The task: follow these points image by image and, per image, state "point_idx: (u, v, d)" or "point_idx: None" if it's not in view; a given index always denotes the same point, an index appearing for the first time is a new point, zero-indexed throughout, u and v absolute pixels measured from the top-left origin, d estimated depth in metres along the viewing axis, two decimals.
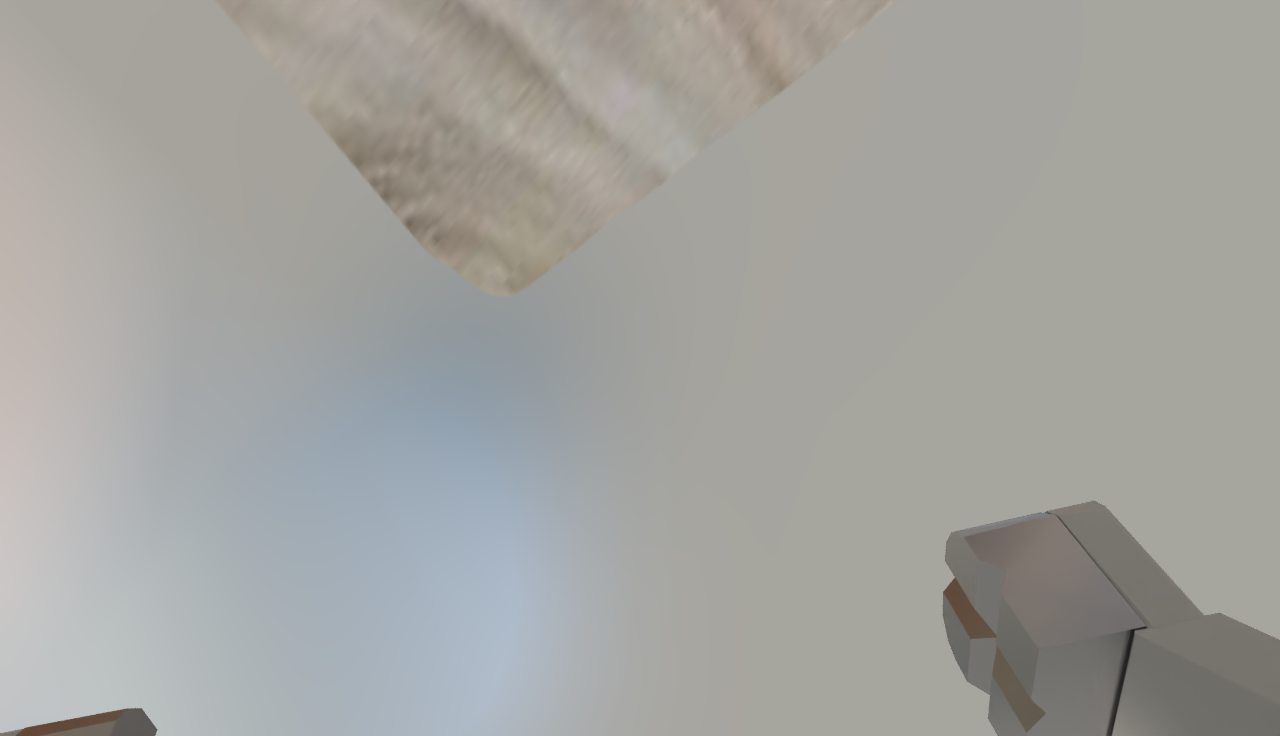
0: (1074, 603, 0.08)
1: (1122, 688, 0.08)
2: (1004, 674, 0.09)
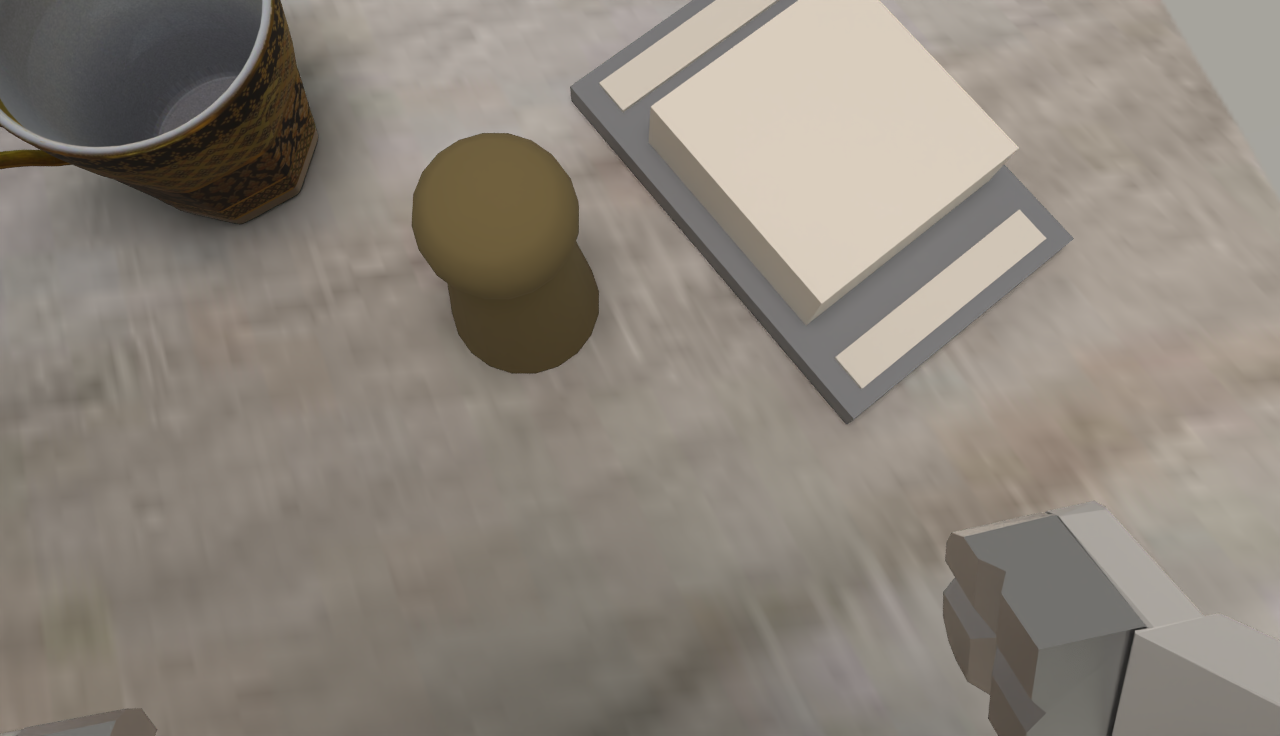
0: (1074, 603, 0.08)
1: (1122, 688, 0.08)
2: (1004, 674, 0.09)
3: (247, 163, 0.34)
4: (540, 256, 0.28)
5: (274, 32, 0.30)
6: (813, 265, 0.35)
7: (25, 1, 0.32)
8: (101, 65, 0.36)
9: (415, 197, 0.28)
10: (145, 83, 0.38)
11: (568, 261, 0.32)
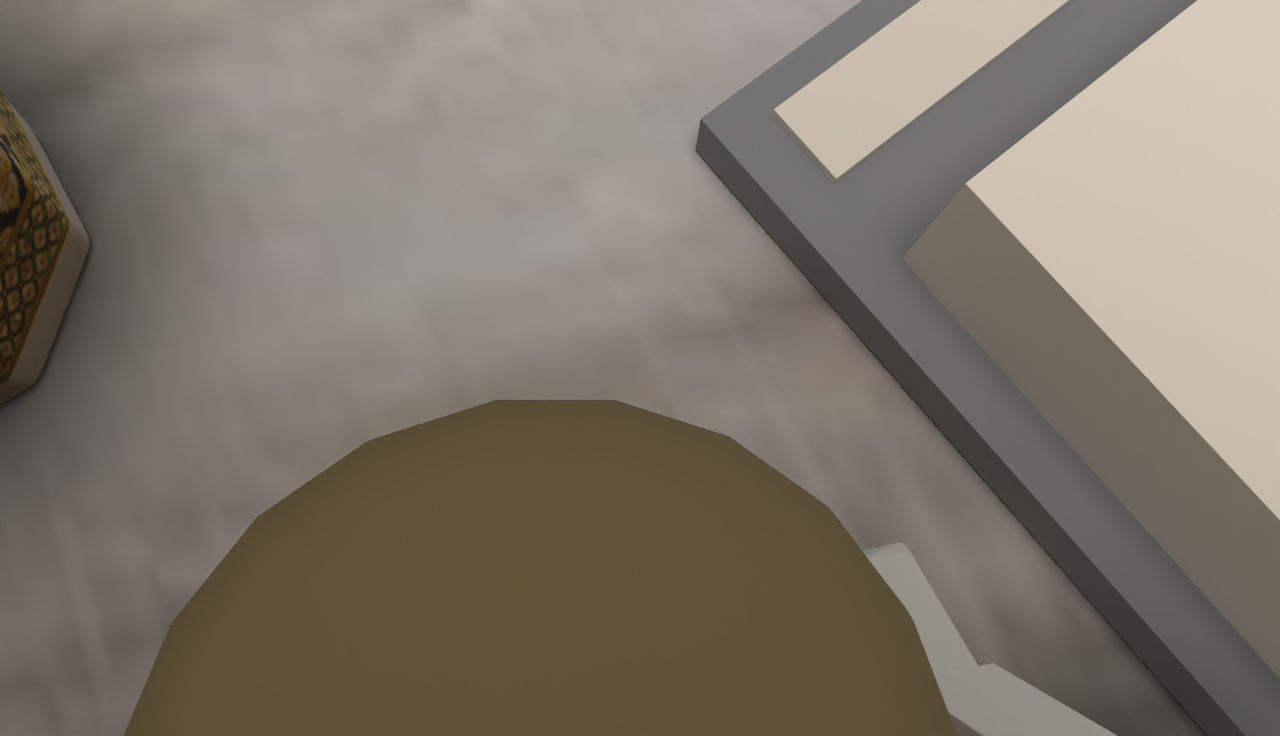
0: None
1: None
2: None
3: None
4: None
5: None
6: None
7: None
8: None
9: None
10: None
11: None
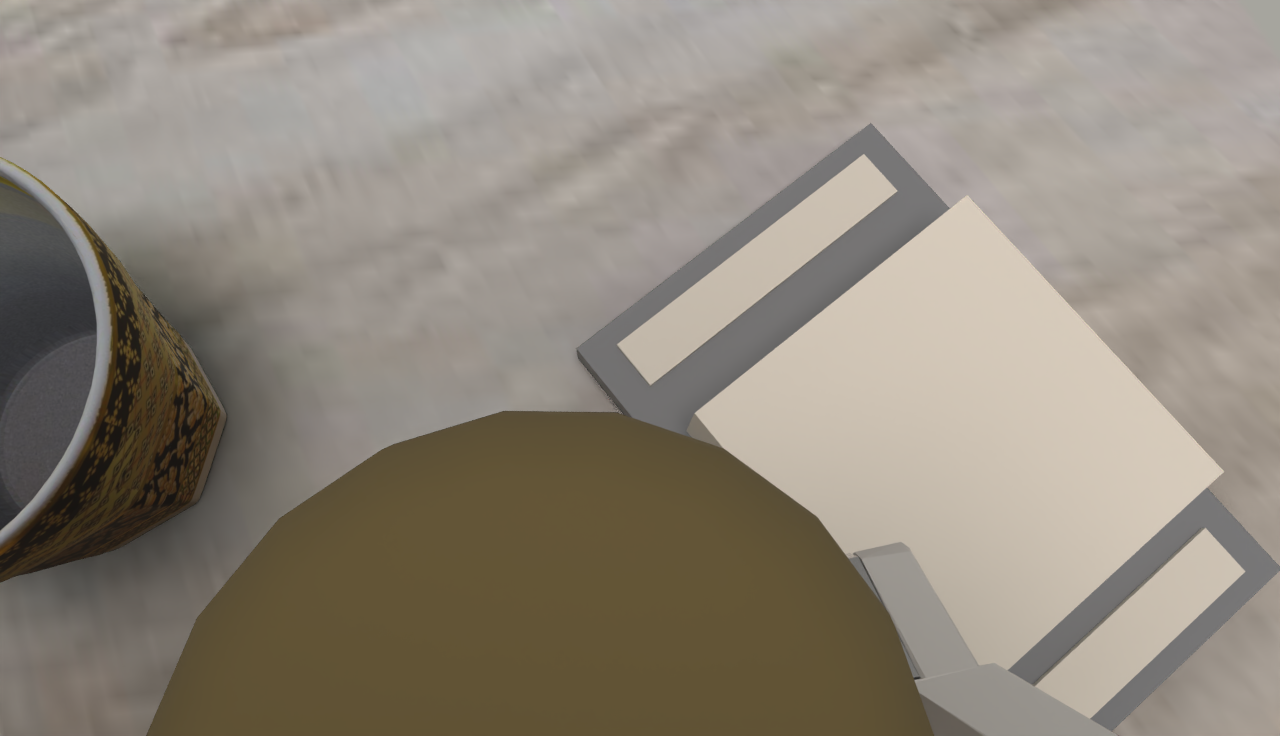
0: None
1: None
2: None
3: (99, 530, 0.23)
4: None
5: (118, 385, 0.19)
6: None
7: None
8: None
9: None
10: None
11: None
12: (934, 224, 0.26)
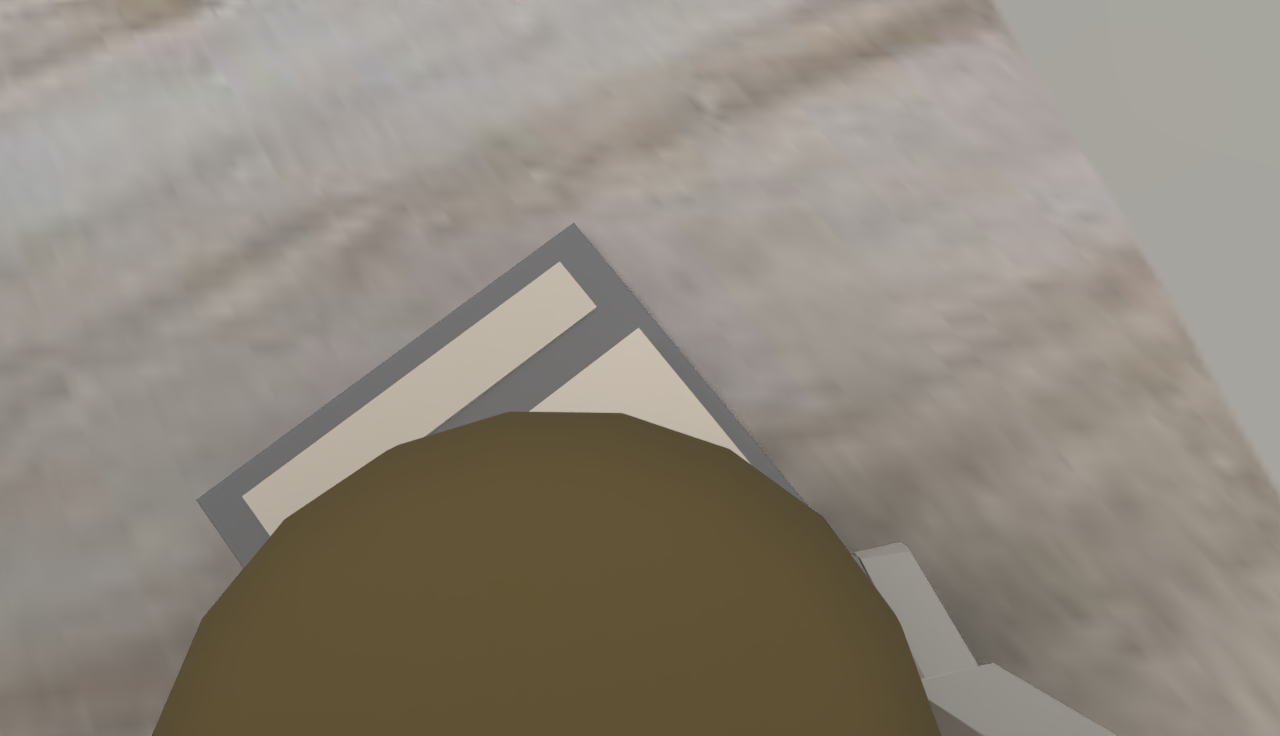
0: None
1: None
2: None
3: None
4: None
5: None
6: None
7: None
8: None
9: None
10: None
11: None
12: (594, 364, 0.21)
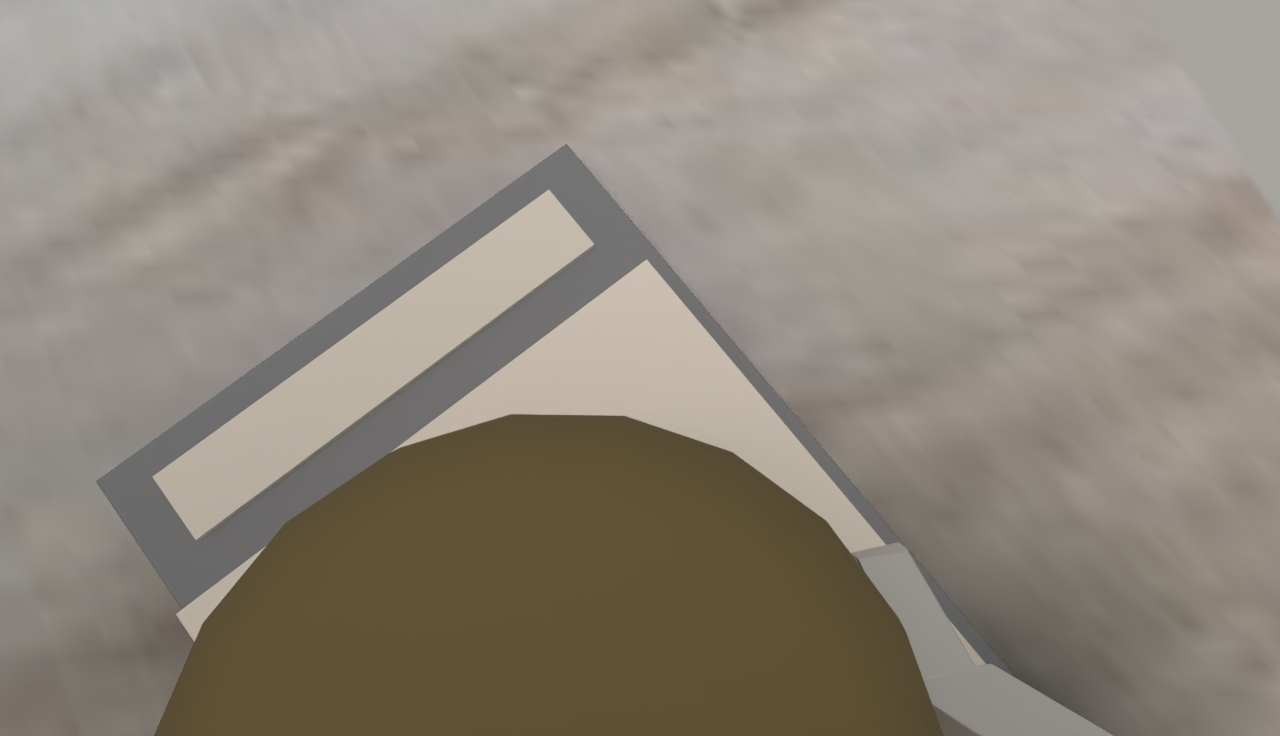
0: None
1: None
2: None
3: None
4: None
5: None
6: None
7: None
8: None
9: None
10: None
11: None
12: (590, 306, 0.17)
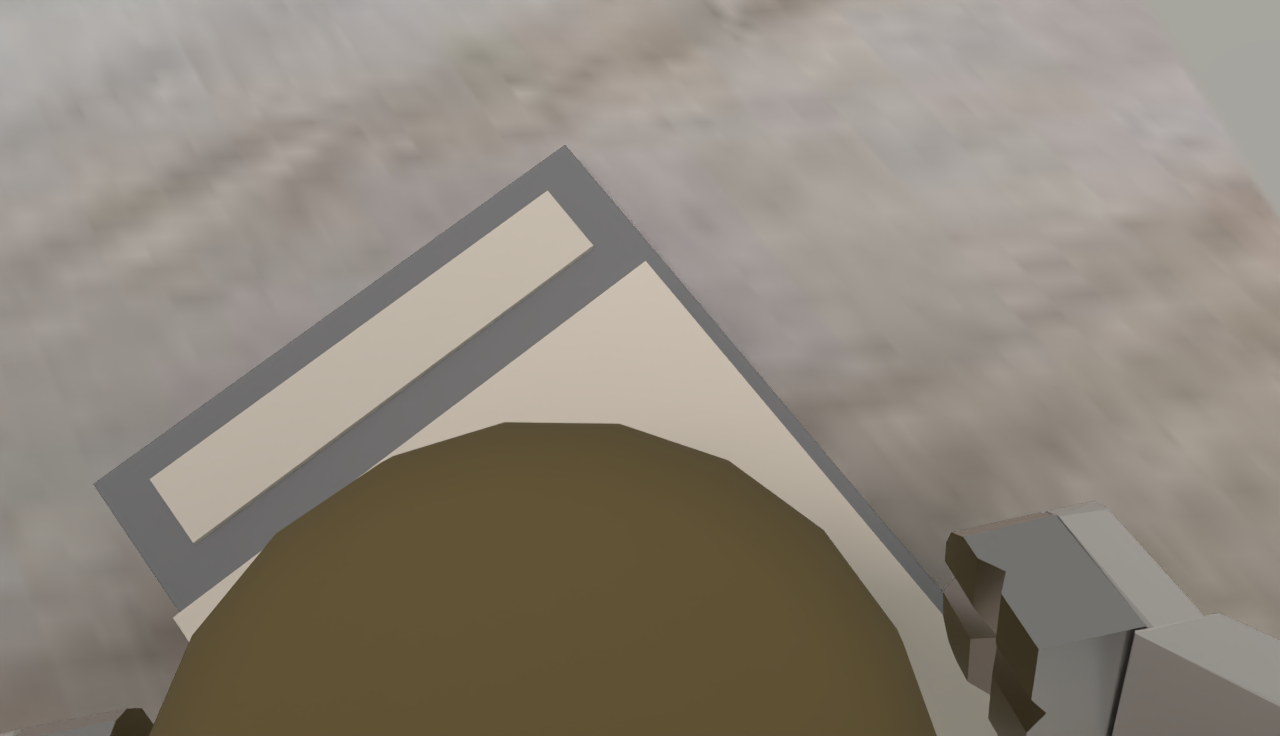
0: (1074, 603, 0.08)
1: (1122, 688, 0.08)
2: (1004, 674, 0.09)
3: None
4: None
5: None
6: None
7: None
8: None
9: None
10: None
11: None
12: (589, 307, 0.17)
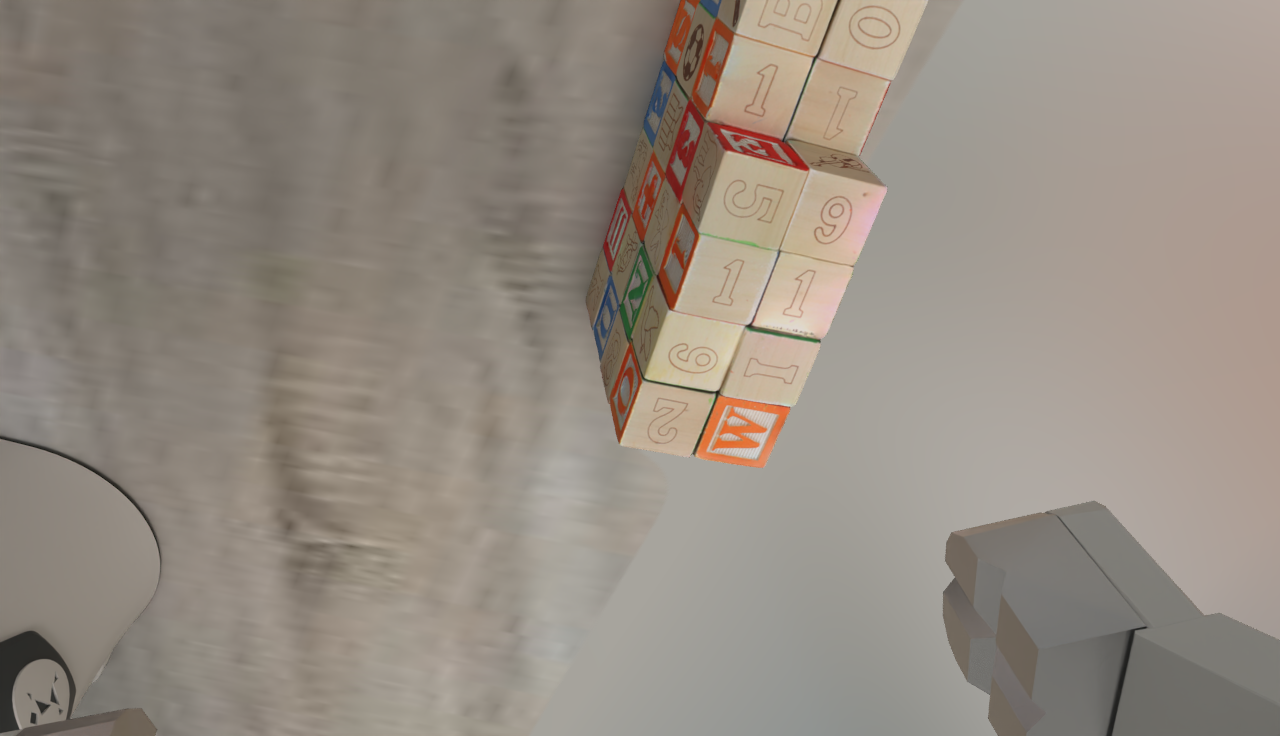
0: (1074, 603, 0.08)
1: (1122, 688, 0.08)
2: (1004, 674, 0.09)
3: None
4: None
5: None
6: None
7: None
8: None
9: None
10: None
11: None
12: None
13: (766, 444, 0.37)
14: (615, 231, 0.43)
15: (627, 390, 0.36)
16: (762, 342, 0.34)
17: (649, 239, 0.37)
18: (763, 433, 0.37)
